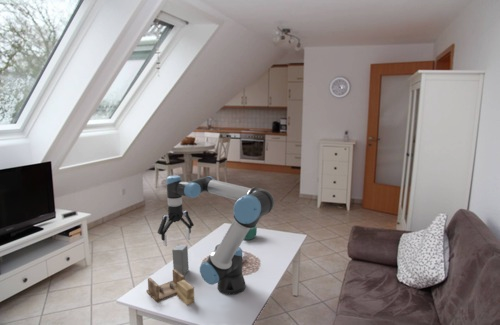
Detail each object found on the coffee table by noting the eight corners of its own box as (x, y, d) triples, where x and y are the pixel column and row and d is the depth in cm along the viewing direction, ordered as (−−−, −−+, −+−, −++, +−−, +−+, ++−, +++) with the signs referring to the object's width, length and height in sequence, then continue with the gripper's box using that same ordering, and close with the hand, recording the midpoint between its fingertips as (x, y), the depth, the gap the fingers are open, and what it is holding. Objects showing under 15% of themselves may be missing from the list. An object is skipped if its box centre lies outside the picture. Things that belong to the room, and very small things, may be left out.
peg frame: (186, 290, 181) (185, 276, 179) (156, 302, 170) (156, 287, 168) (175, 281, 190) (174, 268, 188) (146, 291, 179) (145, 278, 177)
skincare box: (183, 276, 195) (183, 250, 192) (172, 275, 196) (171, 249, 193) (189, 269, 203) (188, 244, 200) (178, 268, 204) (177, 243, 202)
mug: (245, 233, 259) (245, 221, 258) (259, 236, 253) (259, 224, 252) (233, 240, 245) (233, 228, 244) (248, 244, 239) (248, 231, 237)
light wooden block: (184, 293, 178) (183, 279, 176) (194, 302, 170) (193, 287, 169) (177, 296, 175) (176, 282, 174) (187, 305, 168) (186, 290, 166)
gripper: (192, 198, 190) (193, 234, 194) (149, 207, 175) (152, 246, 179) (199, 201, 185) (200, 238, 188) (155, 210, 169) (157, 250, 173)
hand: (176, 242), depth 183 cm, fingers open, 13 cm apart
